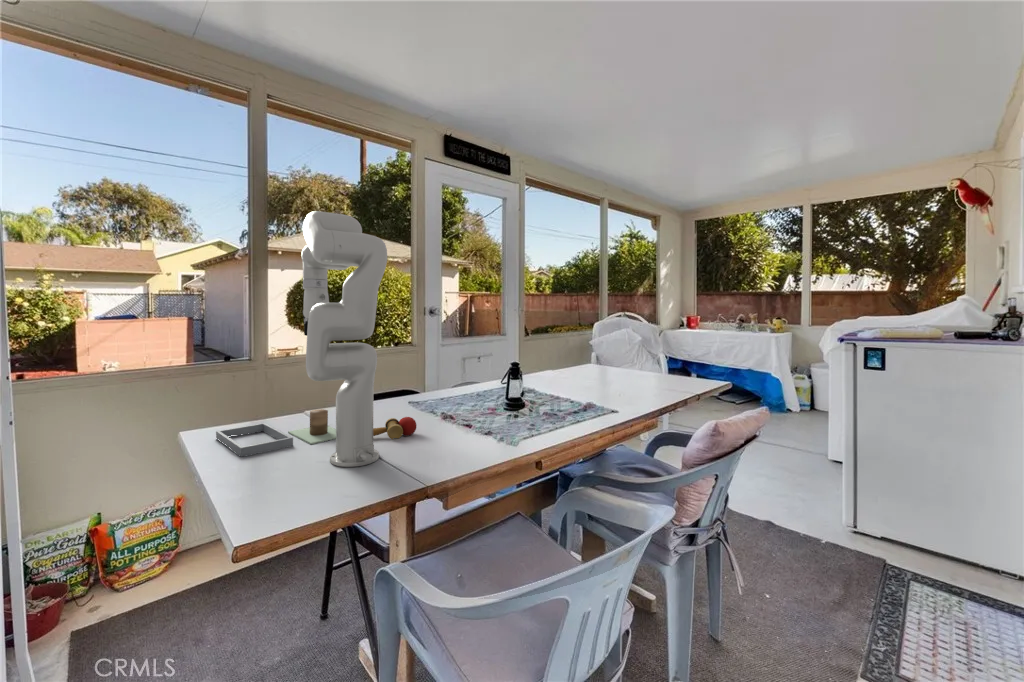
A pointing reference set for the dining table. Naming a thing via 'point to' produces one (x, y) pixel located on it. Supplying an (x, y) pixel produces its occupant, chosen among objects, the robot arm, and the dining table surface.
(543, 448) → the dining table surface
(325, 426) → the brown wooden cylinder
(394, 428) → the kendama
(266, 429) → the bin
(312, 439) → the pad
